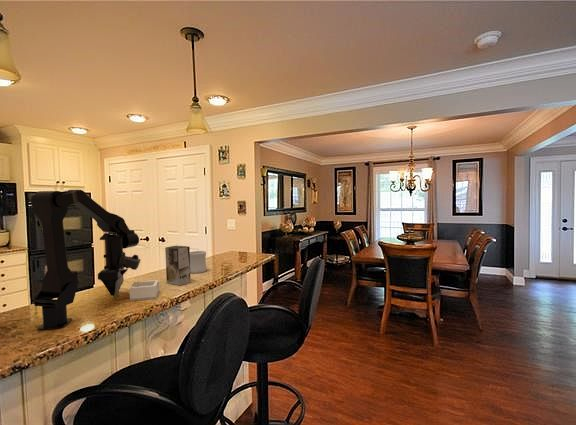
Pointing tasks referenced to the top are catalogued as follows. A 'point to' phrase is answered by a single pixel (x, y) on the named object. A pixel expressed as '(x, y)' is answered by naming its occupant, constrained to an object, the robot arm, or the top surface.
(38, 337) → the top surface
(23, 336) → the top surface
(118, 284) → the light bulb
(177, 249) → the coffee box
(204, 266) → the mug
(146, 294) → the white hollow square box
